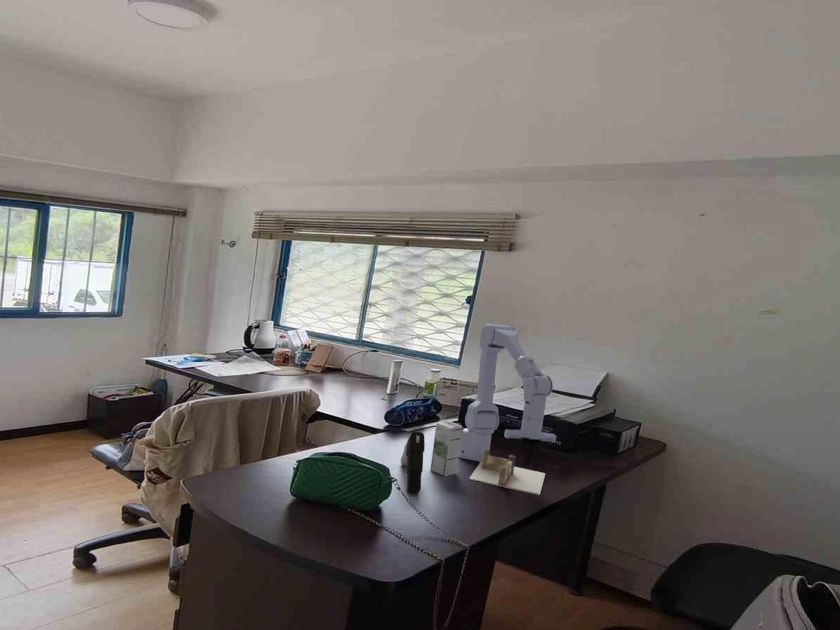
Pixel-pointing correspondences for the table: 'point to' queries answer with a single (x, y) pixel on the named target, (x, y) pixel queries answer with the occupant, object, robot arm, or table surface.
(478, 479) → the mat
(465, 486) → the table surface
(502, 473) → the beige long t-shaped piece
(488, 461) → the fixed fence section
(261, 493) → the table surface
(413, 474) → the handheld device
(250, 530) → the table surface
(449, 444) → the syrup box
